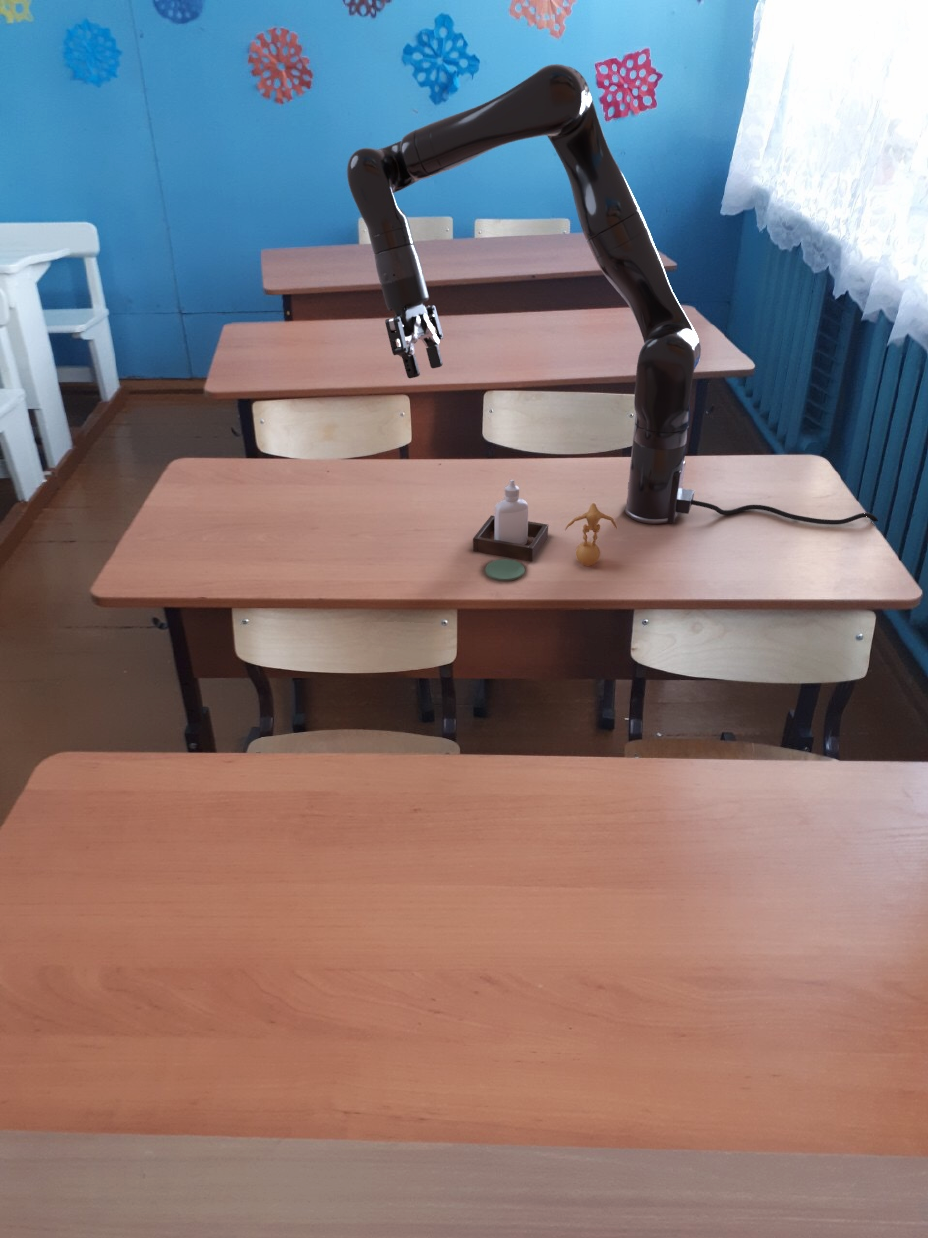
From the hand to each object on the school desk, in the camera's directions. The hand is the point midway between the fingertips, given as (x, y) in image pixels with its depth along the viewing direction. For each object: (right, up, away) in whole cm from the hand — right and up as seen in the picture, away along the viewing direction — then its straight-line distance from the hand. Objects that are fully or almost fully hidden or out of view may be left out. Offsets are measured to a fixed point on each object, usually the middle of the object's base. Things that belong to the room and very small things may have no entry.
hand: (426, 372), depth 155 cm
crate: (+15, -31, -4) cm, 34 cm away
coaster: (+14, -36, -11) cm, 40 cm away
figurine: (+27, -35, -11) cm, 46 cm away
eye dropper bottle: (+15, -31, -4) cm, 35 cm away
